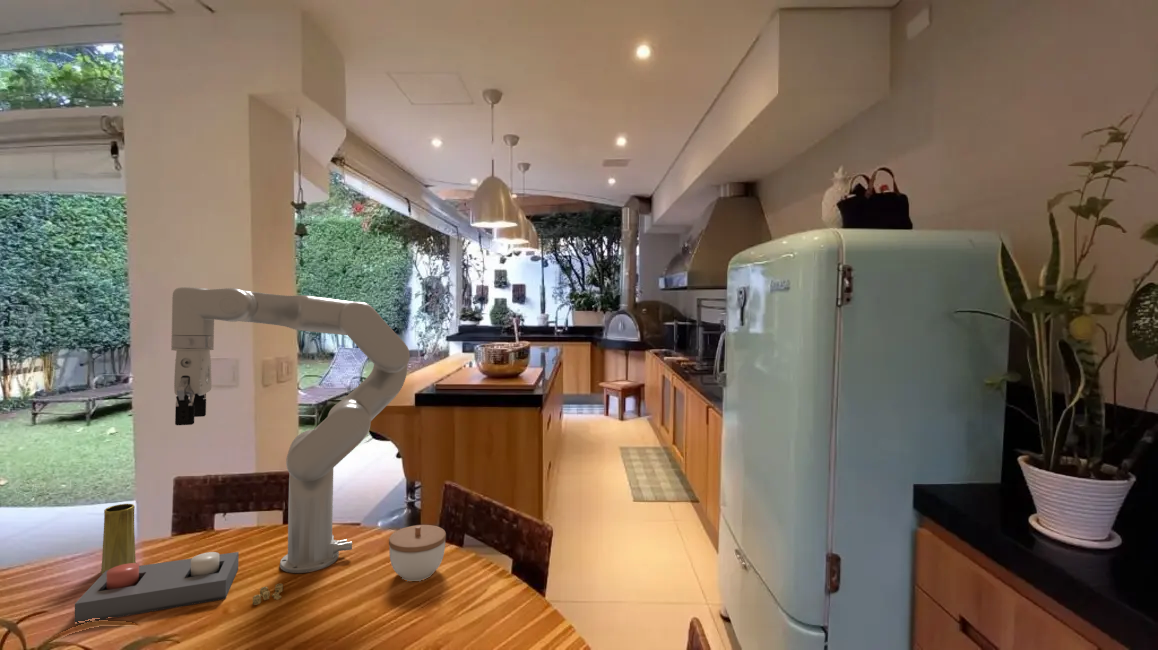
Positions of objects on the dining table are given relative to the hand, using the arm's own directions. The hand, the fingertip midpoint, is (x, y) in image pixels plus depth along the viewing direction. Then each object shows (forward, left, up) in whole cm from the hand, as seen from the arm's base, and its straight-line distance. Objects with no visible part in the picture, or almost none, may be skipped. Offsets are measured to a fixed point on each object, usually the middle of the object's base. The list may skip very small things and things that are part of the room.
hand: (191, 420), depth 114 cm
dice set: (-17, +14, -37) cm, 43 cm away
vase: (+16, -12, -36) cm, 41 cm away
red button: (+10, +5, -32) cm, 34 cm away
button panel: (+3, +5, -36) cm, 36 cm away
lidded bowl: (-47, +16, -36) cm, 61 cm away
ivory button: (-4, +5, -32) cm, 33 cm away
